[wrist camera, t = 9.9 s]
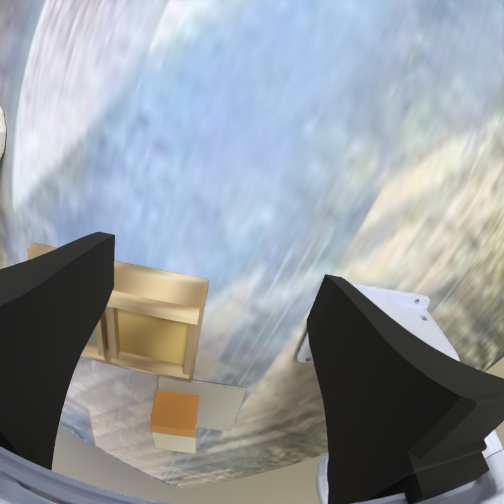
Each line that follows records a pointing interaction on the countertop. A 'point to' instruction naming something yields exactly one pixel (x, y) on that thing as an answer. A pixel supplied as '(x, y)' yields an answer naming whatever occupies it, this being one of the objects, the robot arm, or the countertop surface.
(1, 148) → the white cup
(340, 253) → the countertop surface
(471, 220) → the countertop surface
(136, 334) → the socket block
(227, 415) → the mat
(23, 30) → the countertop surface
